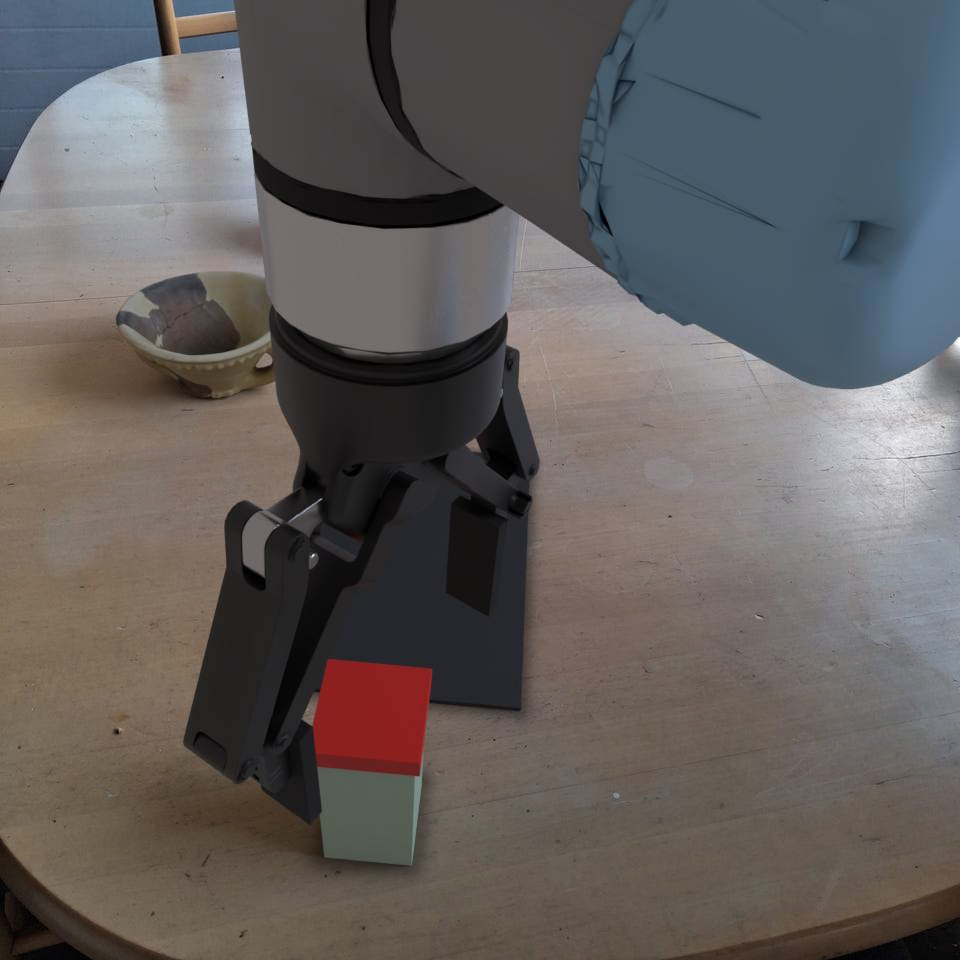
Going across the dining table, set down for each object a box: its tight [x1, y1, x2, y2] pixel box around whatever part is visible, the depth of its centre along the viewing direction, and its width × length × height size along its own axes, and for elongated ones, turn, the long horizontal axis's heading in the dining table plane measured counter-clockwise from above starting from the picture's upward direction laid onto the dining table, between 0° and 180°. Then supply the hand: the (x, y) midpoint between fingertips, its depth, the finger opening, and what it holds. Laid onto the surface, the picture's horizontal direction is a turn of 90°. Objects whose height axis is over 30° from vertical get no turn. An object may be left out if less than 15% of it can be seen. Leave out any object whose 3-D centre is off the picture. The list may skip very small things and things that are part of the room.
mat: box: [314, 451, 530, 712], centre depth 82 cm, size 30×20×1 cm, turn 176°
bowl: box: [115, 270, 275, 399], centre depth 96 cm, size 18×18×10 cm
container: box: [311, 659, 432, 867], centre depth 59 cm, size 7×7×14 cm
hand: (390, 690), depth 43 cm, fingers open, 13 cm apart
